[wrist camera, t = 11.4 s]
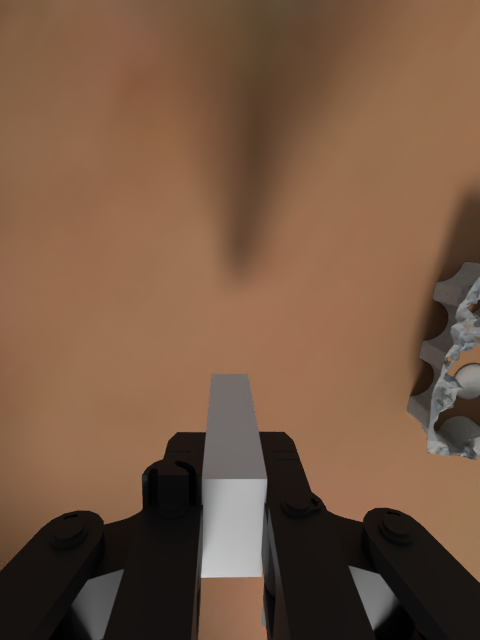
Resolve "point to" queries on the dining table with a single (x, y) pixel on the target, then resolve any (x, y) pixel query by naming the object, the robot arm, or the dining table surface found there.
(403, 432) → the dining table surface
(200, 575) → the robot arm
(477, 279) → the egg carton
